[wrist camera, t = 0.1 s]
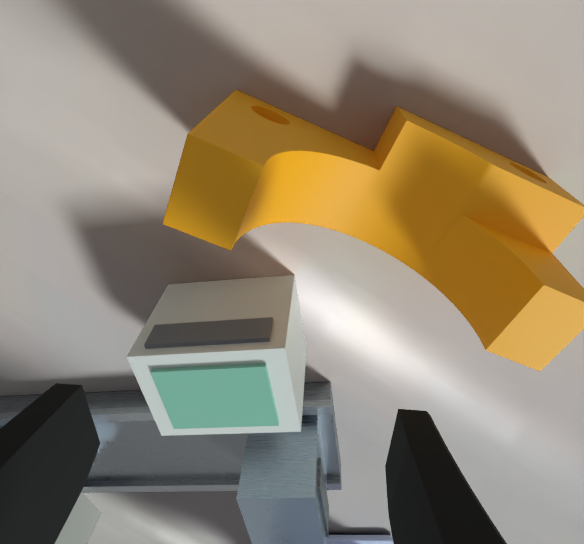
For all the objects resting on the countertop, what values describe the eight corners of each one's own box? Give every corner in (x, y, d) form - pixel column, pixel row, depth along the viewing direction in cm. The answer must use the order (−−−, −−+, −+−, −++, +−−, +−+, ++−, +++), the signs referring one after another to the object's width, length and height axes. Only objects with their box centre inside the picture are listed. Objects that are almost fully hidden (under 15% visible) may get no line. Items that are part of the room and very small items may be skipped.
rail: (340, 464, 26) (343, 567, 22) (41, 470, 29) (-17, 563, 24) (330, 382, 23) (330, 483, 18) (-11, 397, 26) (-90, 489, 21)
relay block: (101, 511, 31) (67, 587, 27) (55, 517, 32) (16, 591, 28) (71, 479, 30) (30, 555, 25) (23, 486, 30) (-24, 560, 26)
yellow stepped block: (546, 175, 17) (653, 260, 11) (478, 264, 19) (540, 371, 13) (252, 38, 15) (208, 58, 9) (216, 153, 17) (162, 224, 12)
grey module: (306, 348, 22) (300, 435, 18) (192, 355, 23) (160, 439, 18) (294, 269, 20) (283, 347, 15) (167, 279, 20) (122, 356, 16)
